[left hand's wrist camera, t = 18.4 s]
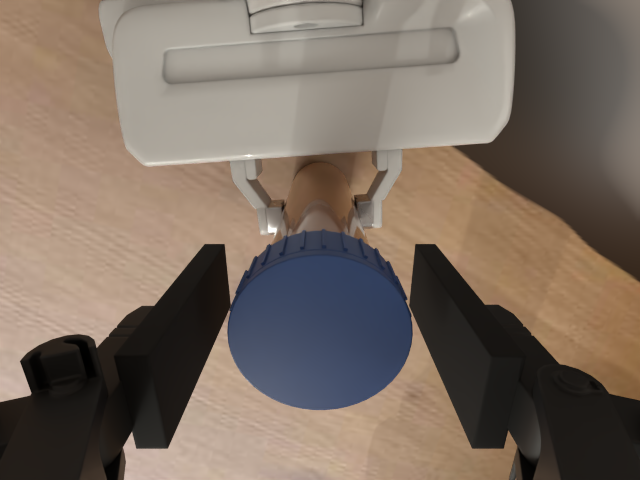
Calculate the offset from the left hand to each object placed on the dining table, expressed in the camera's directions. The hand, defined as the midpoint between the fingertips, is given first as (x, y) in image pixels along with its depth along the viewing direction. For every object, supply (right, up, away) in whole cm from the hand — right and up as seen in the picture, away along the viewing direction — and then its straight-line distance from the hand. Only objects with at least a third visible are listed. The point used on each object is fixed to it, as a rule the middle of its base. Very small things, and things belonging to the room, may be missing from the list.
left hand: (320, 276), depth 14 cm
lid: (0, -1, -3) cm, 4 cm away
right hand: (0, +2, +8) cm, 8 cm away
